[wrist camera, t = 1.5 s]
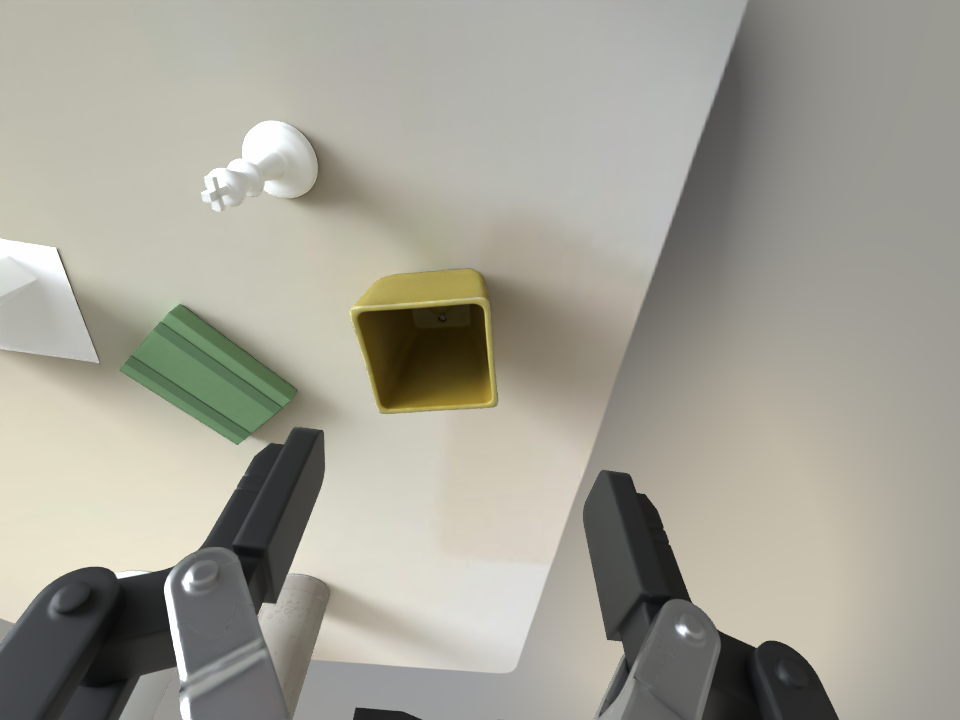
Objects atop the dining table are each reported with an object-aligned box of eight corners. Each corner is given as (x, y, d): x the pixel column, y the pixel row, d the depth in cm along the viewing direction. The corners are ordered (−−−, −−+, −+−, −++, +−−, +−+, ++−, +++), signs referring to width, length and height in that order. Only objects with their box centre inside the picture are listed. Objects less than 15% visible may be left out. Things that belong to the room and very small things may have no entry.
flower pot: (497, 342, 39) (498, 409, 32) (399, 348, 40) (378, 416, 32) (489, 245, 34) (489, 297, 27) (377, 253, 35) (346, 307, 27)
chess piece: (311, 122, 30) (242, 147, 21) (323, 198, 32) (265, 247, 24) (237, 118, 30) (138, 142, 21) (255, 195, 32) (174, 242, 24)
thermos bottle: (294, 608, 65) (186, 909, 42) (260, 579, 61) (120, 896, 38) (341, 598, 64) (254, 907, 40) (309, 569, 60) (193, 894, 36)
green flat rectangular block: (131, 360, 41) (118, 371, 39) (180, 303, 37) (168, 313, 36) (244, 434, 46) (236, 446, 44) (297, 389, 42) (290, 401, 41)
